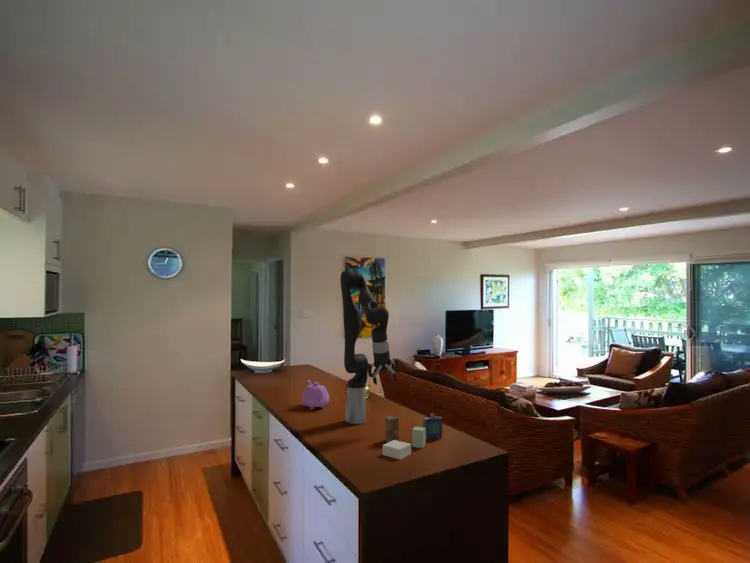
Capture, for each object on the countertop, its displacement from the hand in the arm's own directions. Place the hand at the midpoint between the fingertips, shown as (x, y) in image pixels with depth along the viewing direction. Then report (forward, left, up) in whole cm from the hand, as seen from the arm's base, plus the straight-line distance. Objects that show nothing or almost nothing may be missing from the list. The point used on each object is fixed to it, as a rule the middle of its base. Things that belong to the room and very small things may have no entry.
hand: (384, 382), depth 197 cm
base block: (+22, -24, -22) cm, 40 cm away
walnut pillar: (+12, -12, -22) cm, 28 cm away
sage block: (+24, -10, -22) cm, 34 cm away
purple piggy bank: (-55, +12, -22) cm, 60 cm away
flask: (+24, +2, -22) cm, 33 cm away
